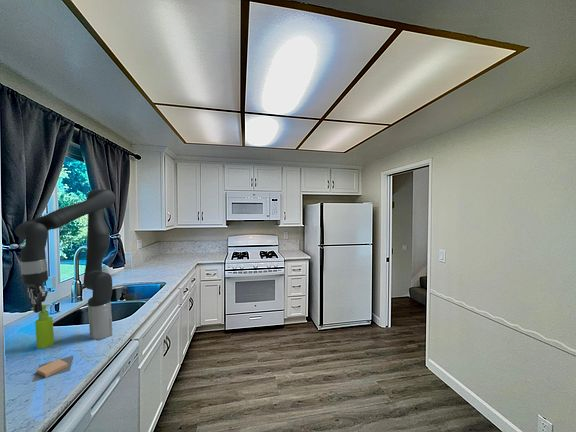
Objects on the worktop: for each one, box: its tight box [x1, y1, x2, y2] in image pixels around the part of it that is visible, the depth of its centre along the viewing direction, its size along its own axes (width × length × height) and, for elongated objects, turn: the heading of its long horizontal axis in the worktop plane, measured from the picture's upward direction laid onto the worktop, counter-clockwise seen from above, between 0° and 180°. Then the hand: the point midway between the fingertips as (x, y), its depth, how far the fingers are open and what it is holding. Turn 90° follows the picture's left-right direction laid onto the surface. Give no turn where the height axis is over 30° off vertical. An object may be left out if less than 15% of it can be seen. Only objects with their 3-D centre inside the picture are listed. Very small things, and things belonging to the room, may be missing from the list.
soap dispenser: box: [30, 304, 55, 350], centre depth 118 cm, size 6×7×20 cm
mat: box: [31, 355, 74, 383], centre depth 103 cm, size 11×12×1 cm
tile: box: [36, 358, 68, 378], centre depth 102 cm, size 2×7×7 cm
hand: (38, 311), depth 104 cm, fingers closed
